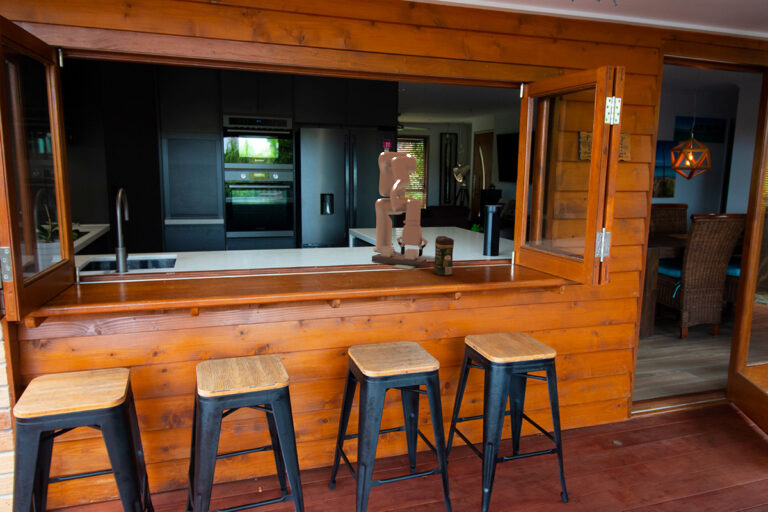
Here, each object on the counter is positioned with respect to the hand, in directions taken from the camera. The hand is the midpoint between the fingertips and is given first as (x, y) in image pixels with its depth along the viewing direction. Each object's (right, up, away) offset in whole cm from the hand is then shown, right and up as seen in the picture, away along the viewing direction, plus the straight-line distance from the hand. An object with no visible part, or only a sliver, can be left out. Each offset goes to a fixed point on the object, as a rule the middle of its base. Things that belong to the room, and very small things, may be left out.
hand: (411, 255), depth 276 cm
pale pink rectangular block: (0, -5, +1) cm, 5 cm away
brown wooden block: (-13, -3, +6) cm, 15 cm away
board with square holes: (-7, -4, +4) cm, 8 cm away
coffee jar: (+14, -9, -20) cm, 26 cm away
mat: (-4, -6, -9) cm, 12 cm away
